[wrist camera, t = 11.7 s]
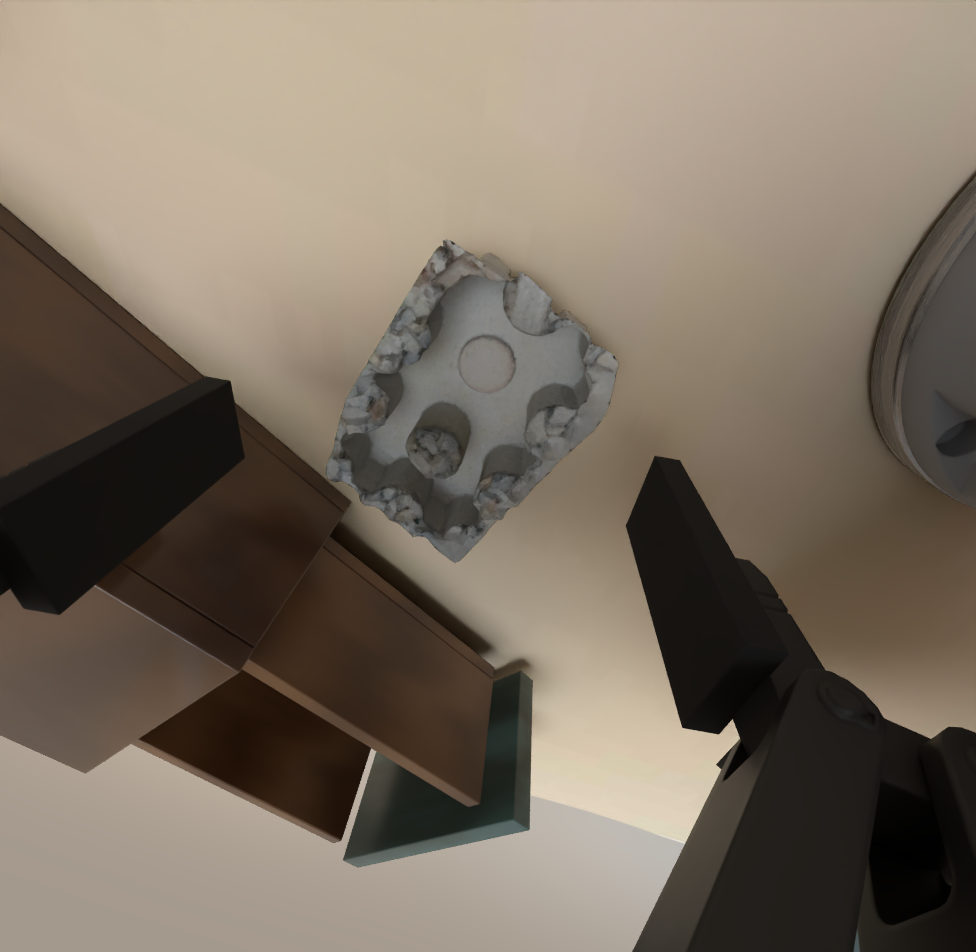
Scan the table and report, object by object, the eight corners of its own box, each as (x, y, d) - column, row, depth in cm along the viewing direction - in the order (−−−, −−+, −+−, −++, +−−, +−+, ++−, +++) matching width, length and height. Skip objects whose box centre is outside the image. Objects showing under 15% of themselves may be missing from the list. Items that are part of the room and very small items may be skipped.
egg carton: (467, 216, 14) (443, 215, 11) (626, 354, 16) (649, 391, 13) (334, 434, 19) (289, 482, 16) (467, 521, 21) (452, 581, 18)
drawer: (574, 714, 27) (584, 864, 21) (435, 762, 33) (410, 893, 27) (301, 490, 20) (190, 617, 14) (181, 599, 26) (62, 726, 19)
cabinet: (351, 502, 21) (239, 673, 13) (218, 611, 27) (85, 774, 19) (-52, 159, 15) (-709, 100, 7) (-112, 397, 21) (-506, 509, 13)
